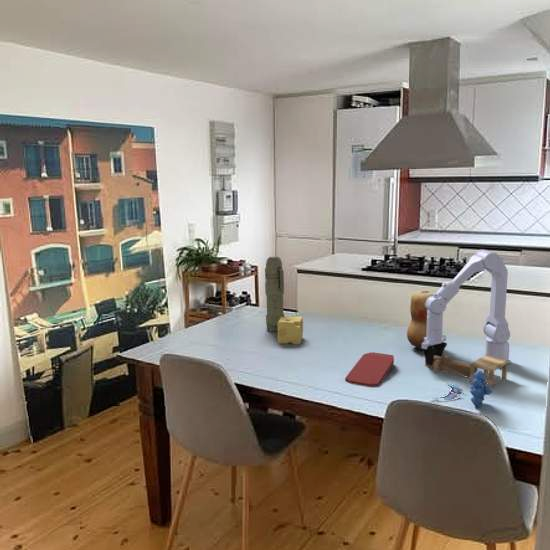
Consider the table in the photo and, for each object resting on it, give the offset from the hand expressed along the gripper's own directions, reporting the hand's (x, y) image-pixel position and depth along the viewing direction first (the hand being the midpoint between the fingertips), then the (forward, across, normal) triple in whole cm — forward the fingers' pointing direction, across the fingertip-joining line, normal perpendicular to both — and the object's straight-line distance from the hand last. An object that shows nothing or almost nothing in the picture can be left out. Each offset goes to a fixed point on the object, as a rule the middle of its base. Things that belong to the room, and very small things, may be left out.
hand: (433, 362), depth 204 cm
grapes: (+2, +22, +30) cm, 37 cm away
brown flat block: (+2, 0, +22) cm, 22 cm away
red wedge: (+2, +21, -13) cm, 25 cm away
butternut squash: (+2, -16, -14) cm, 21 cm away
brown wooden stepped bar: (+2, 0, +7) cm, 7 cm away
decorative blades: (+2, +20, +18) cm, 26 cm away
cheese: (+2, +14, -64) cm, 65 cm away
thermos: (+2, +6, -82) cm, 82 cm away
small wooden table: (+1, 0, +22) cm, 22 cm away
